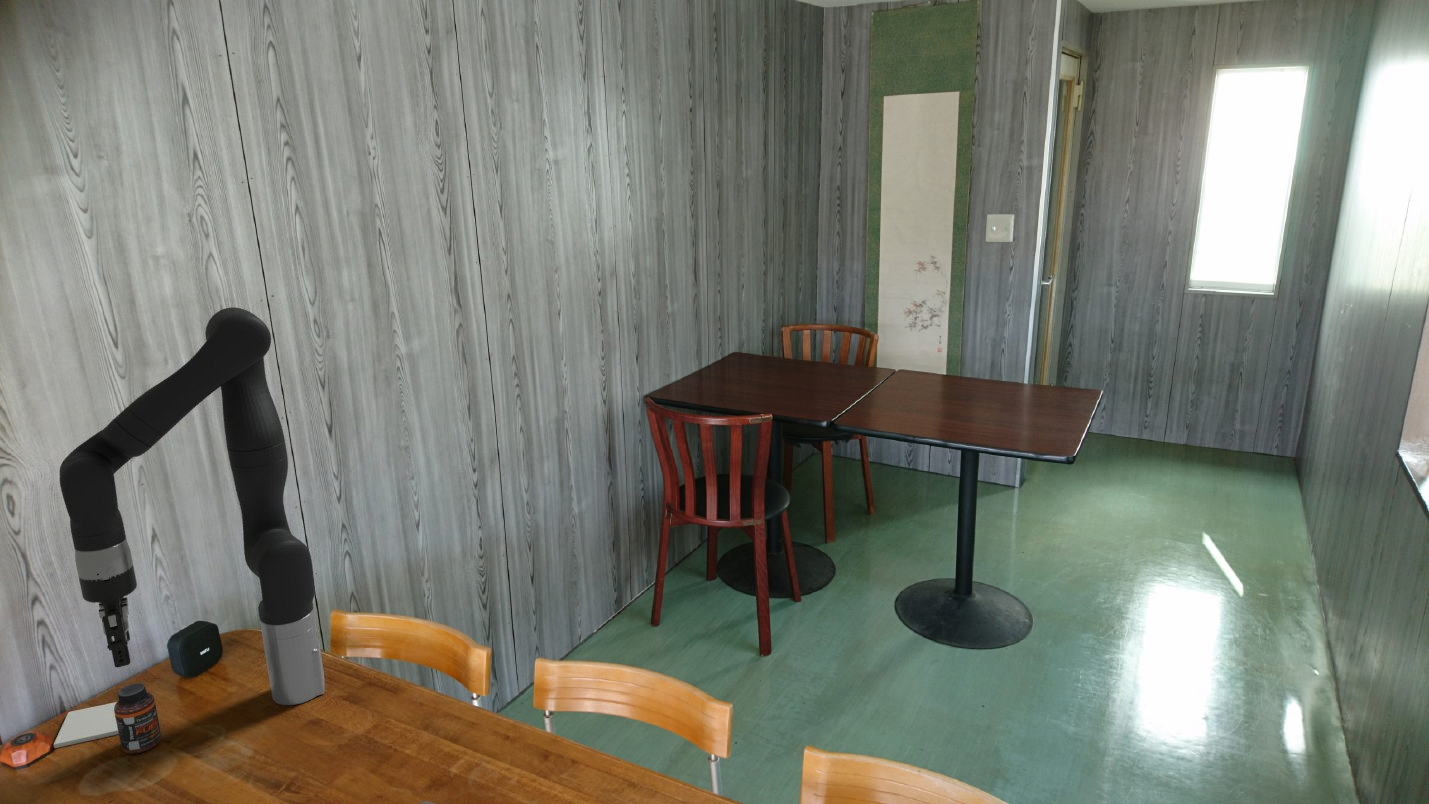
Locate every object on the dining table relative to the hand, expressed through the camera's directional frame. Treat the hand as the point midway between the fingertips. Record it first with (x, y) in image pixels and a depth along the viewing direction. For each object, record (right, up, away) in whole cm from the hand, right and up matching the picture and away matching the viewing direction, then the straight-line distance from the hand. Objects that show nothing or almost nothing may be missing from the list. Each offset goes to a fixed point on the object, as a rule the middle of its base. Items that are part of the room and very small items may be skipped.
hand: (123, 653), depth 145 cm
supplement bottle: (0, -18, +5) cm, 19 cm away
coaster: (-12, -16, +10) cm, 23 cm away
